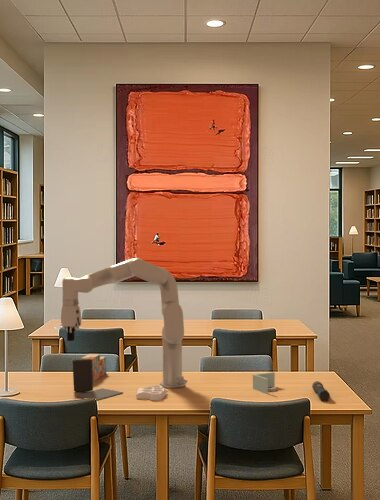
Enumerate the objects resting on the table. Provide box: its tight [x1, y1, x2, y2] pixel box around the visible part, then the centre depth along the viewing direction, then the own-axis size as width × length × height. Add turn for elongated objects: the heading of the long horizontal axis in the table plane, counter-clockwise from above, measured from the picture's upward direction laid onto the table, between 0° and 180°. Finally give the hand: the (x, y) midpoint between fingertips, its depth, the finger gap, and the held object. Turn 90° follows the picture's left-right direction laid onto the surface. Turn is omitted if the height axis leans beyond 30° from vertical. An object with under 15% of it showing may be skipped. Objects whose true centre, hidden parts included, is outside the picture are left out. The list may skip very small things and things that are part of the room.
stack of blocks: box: [80, 353, 107, 382], centre depth 390 cm, size 21×6×12 cm, turn 167°
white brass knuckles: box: [135, 384, 169, 401], centre depth 349 cm, size 3×18×15 cm
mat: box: [74, 388, 124, 402], centre depth 351 cm, size 14×18×1 cm
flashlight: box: [311, 381, 331, 402], centre depth 347 cm, size 5×22×5 cm, turn 0°
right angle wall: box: [252, 371, 277, 395], centre depth 359 cm, size 12×12×8 cm
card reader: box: [72, 359, 94, 393], centre depth 358 cm, size 9×4×15 cm, turn 84°
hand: (70, 340), depth 362 cm, fingers closed
